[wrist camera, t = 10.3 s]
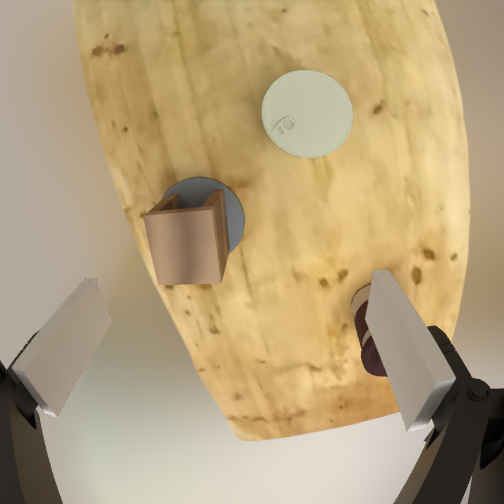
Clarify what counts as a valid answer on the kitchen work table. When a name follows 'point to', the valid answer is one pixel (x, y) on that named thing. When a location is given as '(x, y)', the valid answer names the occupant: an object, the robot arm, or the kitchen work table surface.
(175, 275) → the wooden stool
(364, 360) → the coffee cup
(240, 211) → the rubber mat
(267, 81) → the kitchen work table surface
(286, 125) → the can
